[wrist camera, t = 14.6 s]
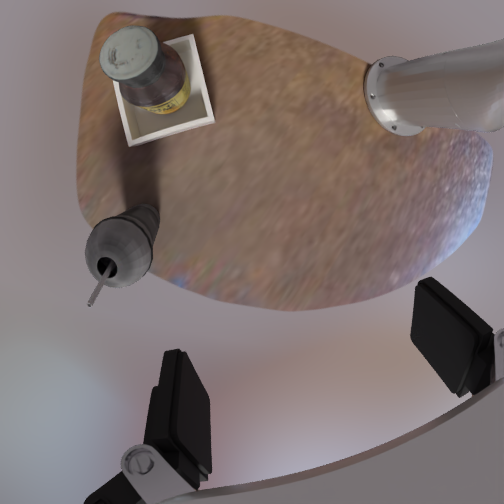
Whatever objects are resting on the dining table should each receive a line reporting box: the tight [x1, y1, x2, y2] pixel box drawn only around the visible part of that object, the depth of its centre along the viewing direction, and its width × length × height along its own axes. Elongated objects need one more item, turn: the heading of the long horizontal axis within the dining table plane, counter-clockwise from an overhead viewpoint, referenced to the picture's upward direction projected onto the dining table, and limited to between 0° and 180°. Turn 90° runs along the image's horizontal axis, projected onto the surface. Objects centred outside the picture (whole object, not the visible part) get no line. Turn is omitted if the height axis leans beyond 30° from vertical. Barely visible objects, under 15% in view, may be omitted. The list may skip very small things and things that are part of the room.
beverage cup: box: [85, 204, 160, 308], centre depth 29 cm, size 7×7×20 cm
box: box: [113, 34, 215, 147], centre depth 30 cm, size 10×11×5 cm
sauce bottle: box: [99, 26, 191, 114], centre depth 23 cm, size 7×6×20 cm
